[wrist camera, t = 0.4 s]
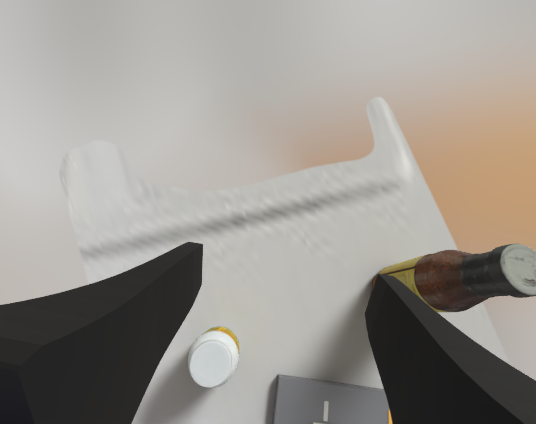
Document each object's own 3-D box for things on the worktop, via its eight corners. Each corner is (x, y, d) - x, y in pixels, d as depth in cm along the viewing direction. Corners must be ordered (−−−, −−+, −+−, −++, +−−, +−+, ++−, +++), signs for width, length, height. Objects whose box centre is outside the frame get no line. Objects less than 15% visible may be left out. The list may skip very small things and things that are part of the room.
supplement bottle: (216, 381, 34) (206, 411, 25) (188, 348, 35) (169, 364, 26) (248, 348, 35) (249, 364, 26) (221, 316, 36) (213, 321, 27)
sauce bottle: (401, 320, 38) (556, 339, 19) (362, 295, 39) (475, 289, 20) (419, 280, 40) (574, 261, 21) (381, 256, 41) (500, 218, 22)
